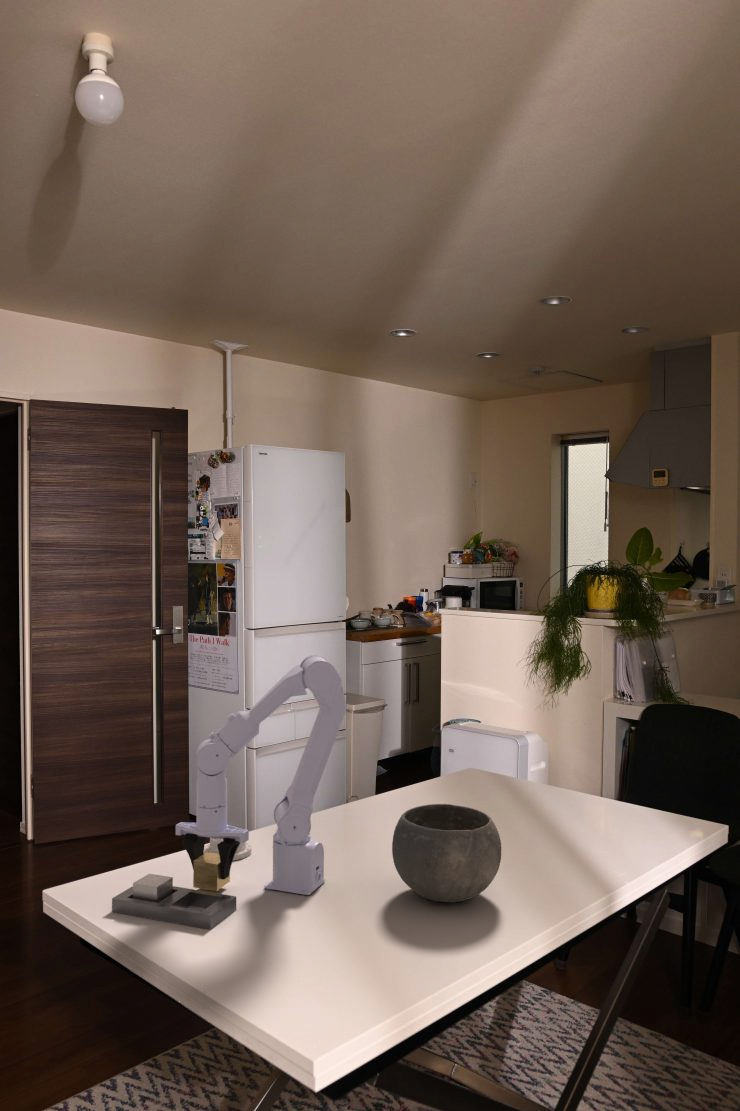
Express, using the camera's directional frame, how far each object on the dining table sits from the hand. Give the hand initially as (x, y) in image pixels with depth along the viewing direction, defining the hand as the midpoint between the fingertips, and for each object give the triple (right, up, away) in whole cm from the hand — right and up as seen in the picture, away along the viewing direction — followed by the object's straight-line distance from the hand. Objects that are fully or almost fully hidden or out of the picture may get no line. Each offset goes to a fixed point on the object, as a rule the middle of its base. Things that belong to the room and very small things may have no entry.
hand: (211, 875), depth 171 cm
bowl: (+44, -3, -2) cm, 44 cm away
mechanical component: (0, -3, +21) cm, 21 cm away
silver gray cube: (-9, -3, -8) cm, 13 cm away
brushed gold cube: (0, -2, 0) cm, 2 cm away
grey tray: (-5, -3, -10) cm, 11 cm away
